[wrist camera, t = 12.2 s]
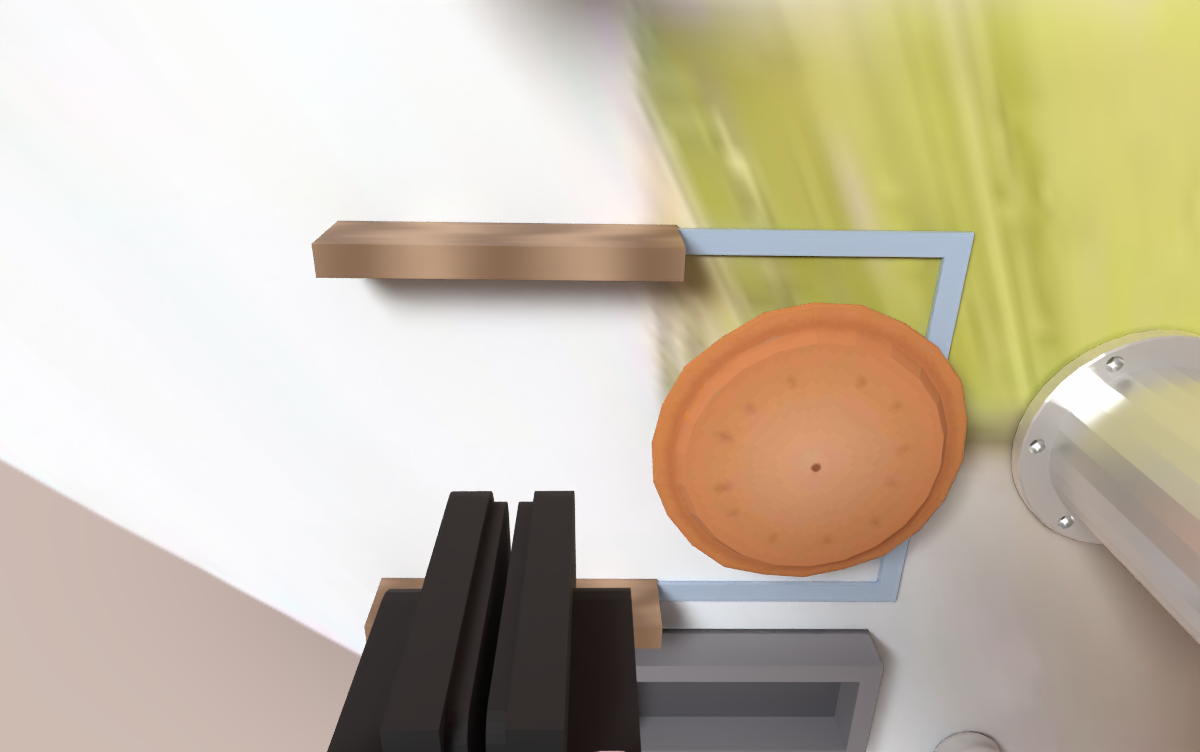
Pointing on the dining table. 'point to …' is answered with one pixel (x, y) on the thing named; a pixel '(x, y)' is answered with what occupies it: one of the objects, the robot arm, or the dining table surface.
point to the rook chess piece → (967, 743)
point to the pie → (809, 440)
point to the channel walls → (510, 258)
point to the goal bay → (939, 332)
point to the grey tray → (758, 690)
